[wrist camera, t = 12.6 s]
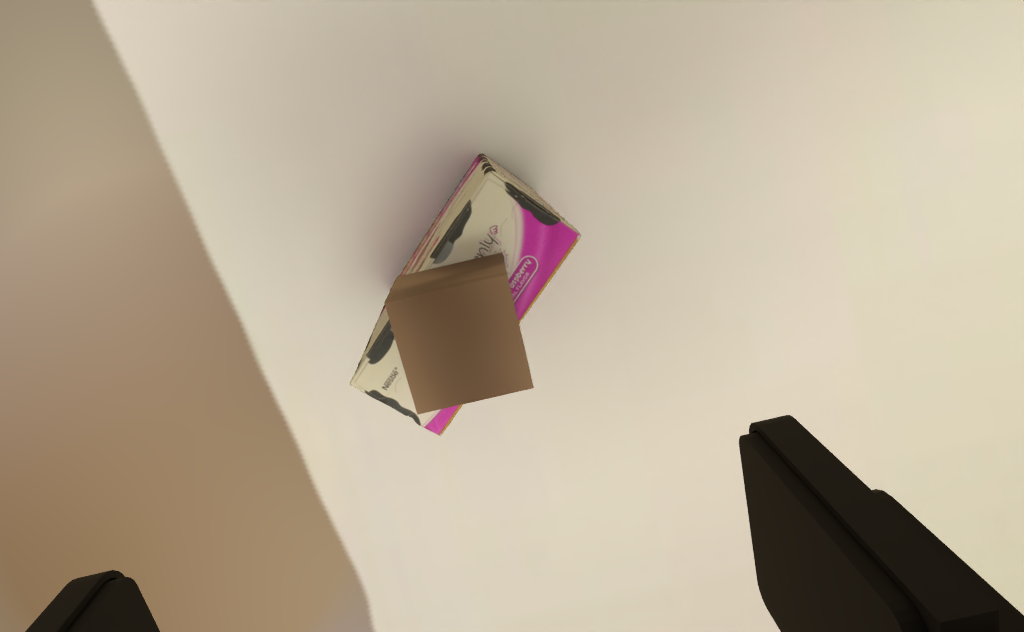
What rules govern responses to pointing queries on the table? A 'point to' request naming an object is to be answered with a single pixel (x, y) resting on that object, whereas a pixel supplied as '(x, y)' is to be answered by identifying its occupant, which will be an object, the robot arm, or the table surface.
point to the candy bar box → (464, 236)
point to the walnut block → (458, 333)
